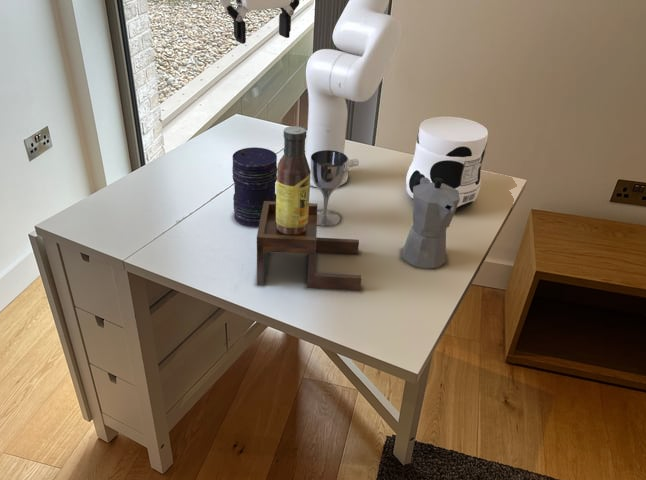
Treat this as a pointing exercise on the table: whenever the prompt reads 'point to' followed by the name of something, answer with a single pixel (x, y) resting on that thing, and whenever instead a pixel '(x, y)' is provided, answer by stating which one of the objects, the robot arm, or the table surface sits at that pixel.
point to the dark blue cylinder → (253, 183)
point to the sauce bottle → (293, 184)
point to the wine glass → (328, 180)
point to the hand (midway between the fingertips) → (262, 39)
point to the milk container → (450, 155)
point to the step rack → (304, 249)
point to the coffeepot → (430, 222)
